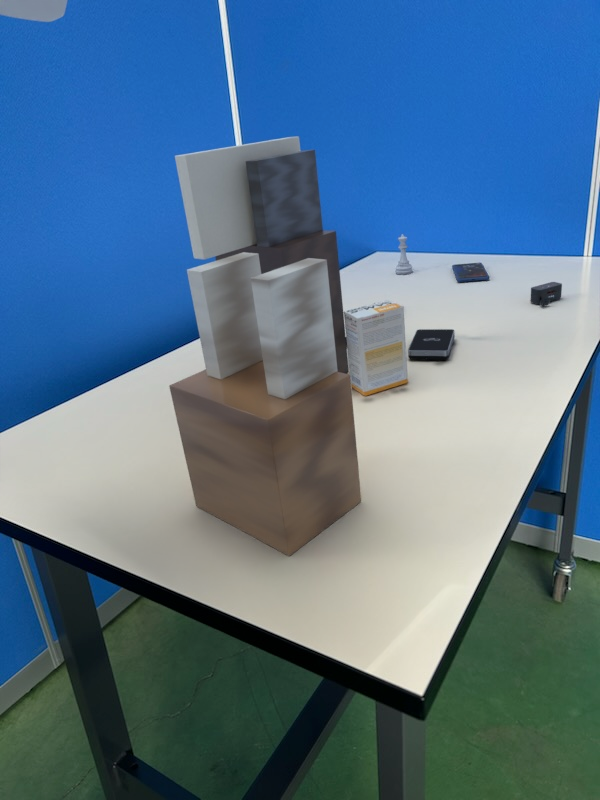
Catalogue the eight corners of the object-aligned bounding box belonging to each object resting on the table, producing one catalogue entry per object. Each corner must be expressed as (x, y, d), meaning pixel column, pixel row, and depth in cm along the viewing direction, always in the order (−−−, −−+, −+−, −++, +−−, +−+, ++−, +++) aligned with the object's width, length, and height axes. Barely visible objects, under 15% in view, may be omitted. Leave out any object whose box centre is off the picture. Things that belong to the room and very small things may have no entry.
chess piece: (414, 270, 165) (412, 232, 160) (410, 274, 161) (409, 235, 157) (397, 270, 166) (395, 232, 162) (394, 275, 163) (391, 236, 158)
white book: (204, 259, 88) (185, 154, 83) (193, 258, 90) (174, 155, 84) (309, 228, 102) (299, 136, 96) (298, 227, 104) (287, 137, 98)
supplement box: (393, 374, 104) (388, 298, 98) (408, 383, 100) (405, 305, 94) (349, 387, 101) (342, 310, 96) (363, 397, 97) (357, 317, 92)
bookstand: (301, 398, 100) (270, 159, 85) (236, 378, 110) (199, 163, 95) (348, 372, 107) (328, 148, 92) (283, 356, 118) (256, 153, 103)
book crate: (289, 556, 64) (248, 294, 53) (195, 506, 75) (144, 278, 63) (361, 501, 72) (340, 260, 60) (267, 462, 82) (233, 251, 71)
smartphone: (457, 279, 148) (451, 264, 162) (457, 282, 149) (451, 267, 162) (490, 276, 147) (481, 262, 161) (490, 280, 147) (481, 265, 161)
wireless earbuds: (525, 304, 129) (526, 288, 128) (552, 296, 131) (553, 281, 130) (542, 308, 125) (543, 293, 124) (569, 301, 127) (570, 285, 126)
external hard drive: (454, 339, 115) (454, 329, 114) (448, 362, 106) (448, 351, 105) (417, 339, 118) (416, 329, 117) (407, 361, 108) (407, 350, 107)
